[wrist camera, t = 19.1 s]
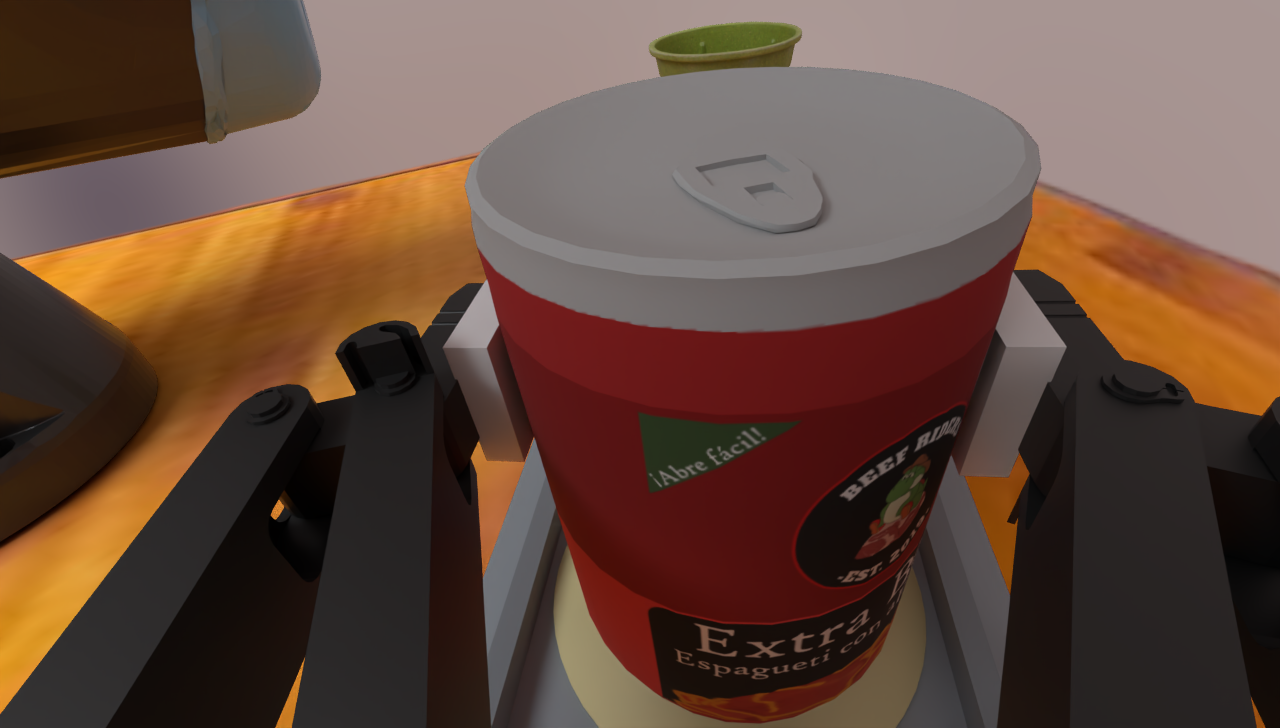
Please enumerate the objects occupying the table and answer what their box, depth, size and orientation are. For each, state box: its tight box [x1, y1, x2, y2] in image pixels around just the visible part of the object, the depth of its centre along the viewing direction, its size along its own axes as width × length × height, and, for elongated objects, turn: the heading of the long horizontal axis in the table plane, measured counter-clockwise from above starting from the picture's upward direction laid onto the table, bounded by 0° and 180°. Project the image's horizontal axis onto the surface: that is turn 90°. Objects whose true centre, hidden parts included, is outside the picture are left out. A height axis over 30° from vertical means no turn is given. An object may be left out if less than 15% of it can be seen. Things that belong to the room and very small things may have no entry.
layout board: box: [483, 438, 1010, 728], centre depth 20 cm, size 24×14×4 cm, turn 173°
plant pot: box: [649, 22, 802, 77], centre depth 39 cm, size 9×9×9 cm
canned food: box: [465, 67, 1041, 724], centre depth 12 cm, size 8×8×11 cm
